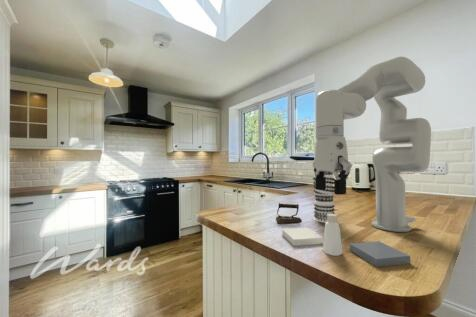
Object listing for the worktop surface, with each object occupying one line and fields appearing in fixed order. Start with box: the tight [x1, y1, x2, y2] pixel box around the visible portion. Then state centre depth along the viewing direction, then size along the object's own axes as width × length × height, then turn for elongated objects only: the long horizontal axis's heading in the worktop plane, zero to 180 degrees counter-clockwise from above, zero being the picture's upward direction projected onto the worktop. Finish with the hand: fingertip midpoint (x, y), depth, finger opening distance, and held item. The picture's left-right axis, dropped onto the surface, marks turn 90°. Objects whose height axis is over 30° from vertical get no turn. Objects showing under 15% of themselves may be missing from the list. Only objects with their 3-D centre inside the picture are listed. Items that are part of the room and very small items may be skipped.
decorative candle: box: [312, 172, 336, 224], centre depth 95 cm, size 9×9×25 cm
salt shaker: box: [322, 214, 343, 257], centre depth 63 cm, size 5×5×11 cm
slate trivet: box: [349, 240, 411, 268], centre depth 59 cm, size 10×10×2 cm
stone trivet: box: [281, 227, 324, 247], centre depth 73 cm, size 10×10×2 cm
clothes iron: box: [275, 202, 303, 225], centre depth 94 cm, size 7×11×10 cm, turn 88°
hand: (329, 191), depth 62 cm, fingers open, 9 cm apart
